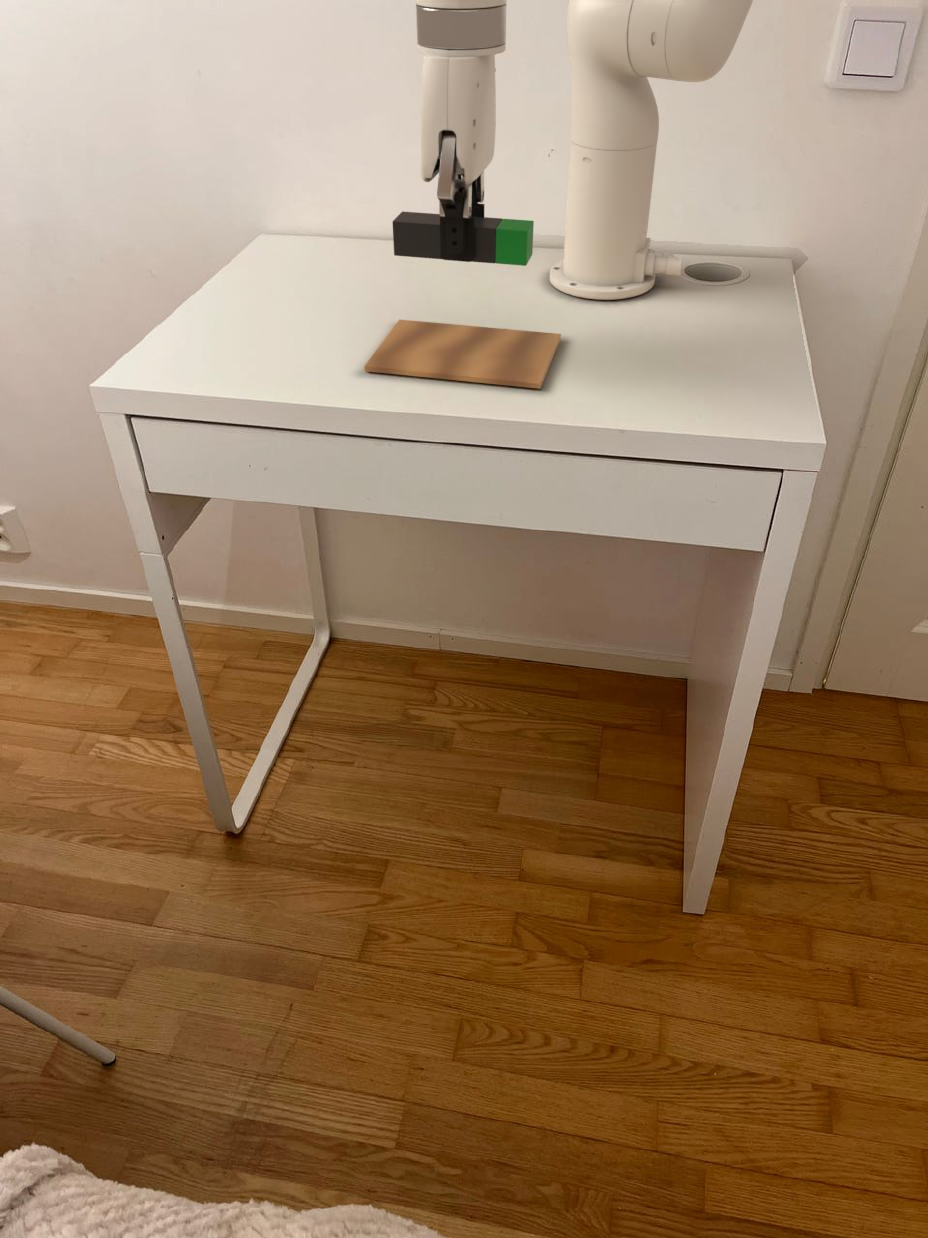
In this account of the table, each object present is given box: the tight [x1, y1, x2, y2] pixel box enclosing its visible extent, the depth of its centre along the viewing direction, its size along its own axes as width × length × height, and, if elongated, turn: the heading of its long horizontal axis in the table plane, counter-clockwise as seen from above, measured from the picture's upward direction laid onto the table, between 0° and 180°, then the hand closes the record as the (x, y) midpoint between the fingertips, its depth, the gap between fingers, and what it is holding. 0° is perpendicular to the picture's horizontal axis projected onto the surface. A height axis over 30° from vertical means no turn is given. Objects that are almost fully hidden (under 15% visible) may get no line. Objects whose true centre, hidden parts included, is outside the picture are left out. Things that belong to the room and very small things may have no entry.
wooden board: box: [364, 319, 562, 390], centre depth 97 cm, size 18×12×1 cm, turn 76°
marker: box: [392, 211, 535, 267], centre depth 89 cm, size 13×3×3 cm, turn 76°
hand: (462, 250), depth 90 cm, fingers closed on marker, 3 cm apart
